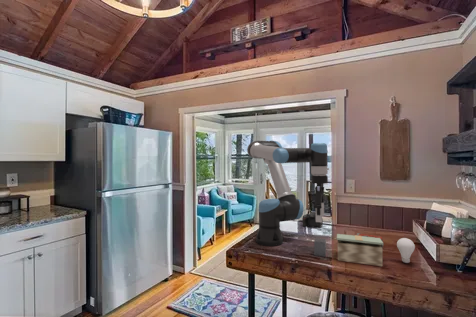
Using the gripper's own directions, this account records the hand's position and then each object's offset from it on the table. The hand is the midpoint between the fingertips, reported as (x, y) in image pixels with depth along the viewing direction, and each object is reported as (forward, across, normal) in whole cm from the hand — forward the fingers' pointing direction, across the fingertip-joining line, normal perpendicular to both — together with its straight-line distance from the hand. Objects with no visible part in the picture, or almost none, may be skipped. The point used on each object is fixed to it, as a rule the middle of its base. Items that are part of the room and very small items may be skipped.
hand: (320, 218), depth 123 cm
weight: (+18, 0, 0) cm, 18 cm away
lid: (+9, +1, -17) cm, 19 cm away
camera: (+18, +48, +9) cm, 51 cm away
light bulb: (+18, +3, -36) cm, 40 cm away
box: (+18, +1, -17) cm, 24 cm away
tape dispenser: (+18, +18, -21) cm, 33 cm away
